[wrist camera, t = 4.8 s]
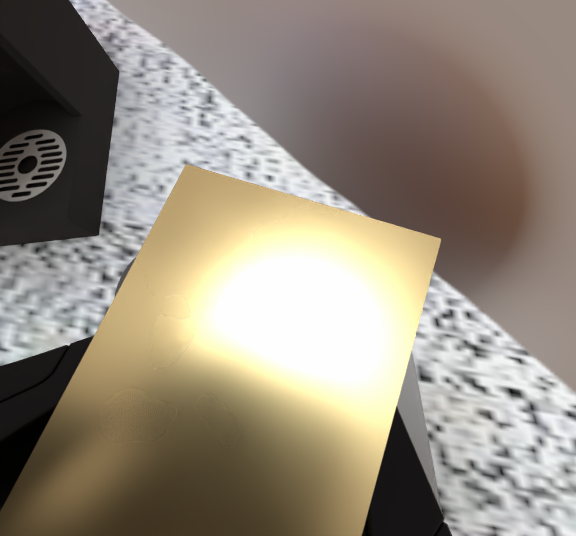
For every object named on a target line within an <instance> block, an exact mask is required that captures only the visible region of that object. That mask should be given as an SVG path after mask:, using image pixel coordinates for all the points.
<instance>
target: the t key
mask: <svg viewBox="0 0 576 536" xmlns="http://www.w3.org/2000/svg"><path fill="white" fill-rule="evenodd" d="M440 242H441V239H440V238H436V237H433V236H430V235H426V234H423V233H419V232H416V231H413V230H409V229H406V228H402V227H399V226H396V225H392V224H389V223H385V222H382V221H379V220H375V219H372V218H368V217H365V216H361V215H358V214H355V213H351V212H348V211H344V210H341V209H338V208H334V207H331V206H327V205H324V204H321V203H317V202H314V201H310V200H307V199H303V198H300V197H297V196H293V195H290V194H286V193H283V192H280V191H276V190H273V189H269V188H266V187H263V186H259V185H256V184H252V183H249V182H246V181H242V180H239V179H235V178H232V177H228V176H225V175H222V174H218V173H215V172H211V171H208V170H205V169H201V168H198V167H194V166H191V165H188V164H186V165H185V167H184V169H183V171H182V173H181V175H180V177H179V179H178V180H177V182H176V184H175V186H174V188H173V190H172V192H171V193H170V195H169V197H168V199H167V201H166V203H165V205H164V207H163V208H162V210H161V212H160V214H159V216H158V218H157V220H156V222H155V223H154V225H153V227H152V229H151V231H150V233H149V235H148V236H147V238H146V240H145V242H144V244H143V246H142V248H141V250H140V251H139V253H138V255H137V257H136V259H135V261H134V263H133V265H132V266H131V268H130V270H129V272H128V274H127V276H126V278H125V279H124V281H123V283H122V285H121V287H120V289H119V291H118V293H117V294H116V296H115V298H114V300H113V302H112V304H111V306H110V308H109V309H108V311H107V313H106V315H105V317H104V319H103V321H102V322H101V324H100V326H99V328H98V330H97V332H96V334H95V336H94V337H93V339H92V341H91V343H90V345H89V347H88V349H87V351H86V352H85V354H84V356H83V358H82V360H81V362H80V364H79V366H78V367H77V369H76V371H75V373H74V375H73V377H72V379H71V380H70V382H69V384H68V386H67V388H66V390H65V392H64V394H63V395H62V397H61V399H60V401H59V403H58V405H57V407H56V409H55V410H54V412H53V414H52V416H51V418H50V420H49V422H48V423H47V425H46V427H45V429H44V431H43V433H42V435H41V437H40V438H39V440H38V442H37V444H36V446H35V448H34V450H33V452H32V453H31V455H30V457H29V459H28V461H27V463H26V465H25V466H24V468H23V470H22V472H21V474H20V476H19V478H18V480H17V481H16V483H15V485H14V487H13V489H12V491H11V493H10V495H9V496H8V498H7V500H6V502H5V504H4V506H3V508H2V509H1V511H0V536H362V532H363V529H364V525H365V521H366V517H367V514H368V510H369V506H370V503H371V499H372V495H373V491H374V488H375V484H376V480H377V477H378V473H379V469H380V465H381V462H382V458H383V454H384V450H385V447H386V443H387V439H388V436H389V432H390V428H391V424H392V421H393V417H394V413H395V409H396V406H397V402H398V398H399V395H400V391H401V387H402V383H403V380H404V376H405V372H406V368H407V365H408V361H409V357H410V354H411V350H412V346H413V342H414V339H415V335H416V331H417V328H418V324H419V320H420V316H421V313H422V309H423V305H424V301H425V298H426V294H427V290H428V287H429V283H430V279H431V275H432V272H433V268H434V264H435V260H436V257H437V253H438V249H439V246H440Z"/></svg>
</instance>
